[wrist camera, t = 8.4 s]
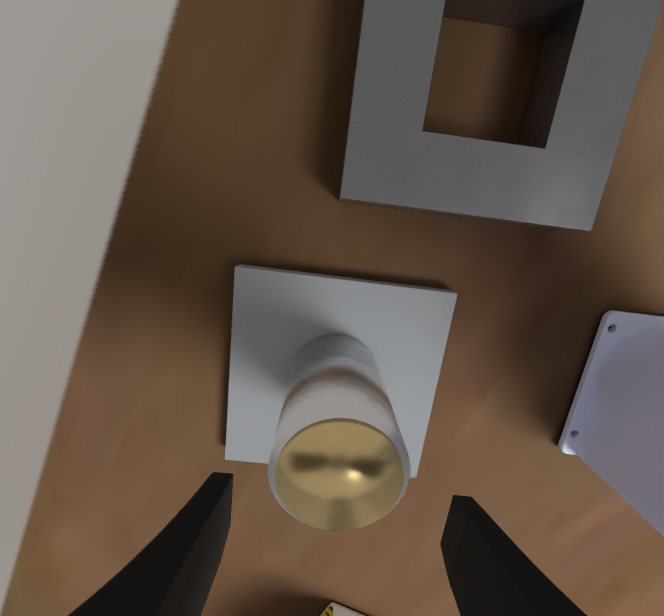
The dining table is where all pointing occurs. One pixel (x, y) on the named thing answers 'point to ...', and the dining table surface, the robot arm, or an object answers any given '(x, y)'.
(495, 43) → the dining table surface
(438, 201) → the housing
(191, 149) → the dining table surface
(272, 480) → the white gold-topped cylinder
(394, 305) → the mat
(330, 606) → the medicine bottle
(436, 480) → the dining table surface
